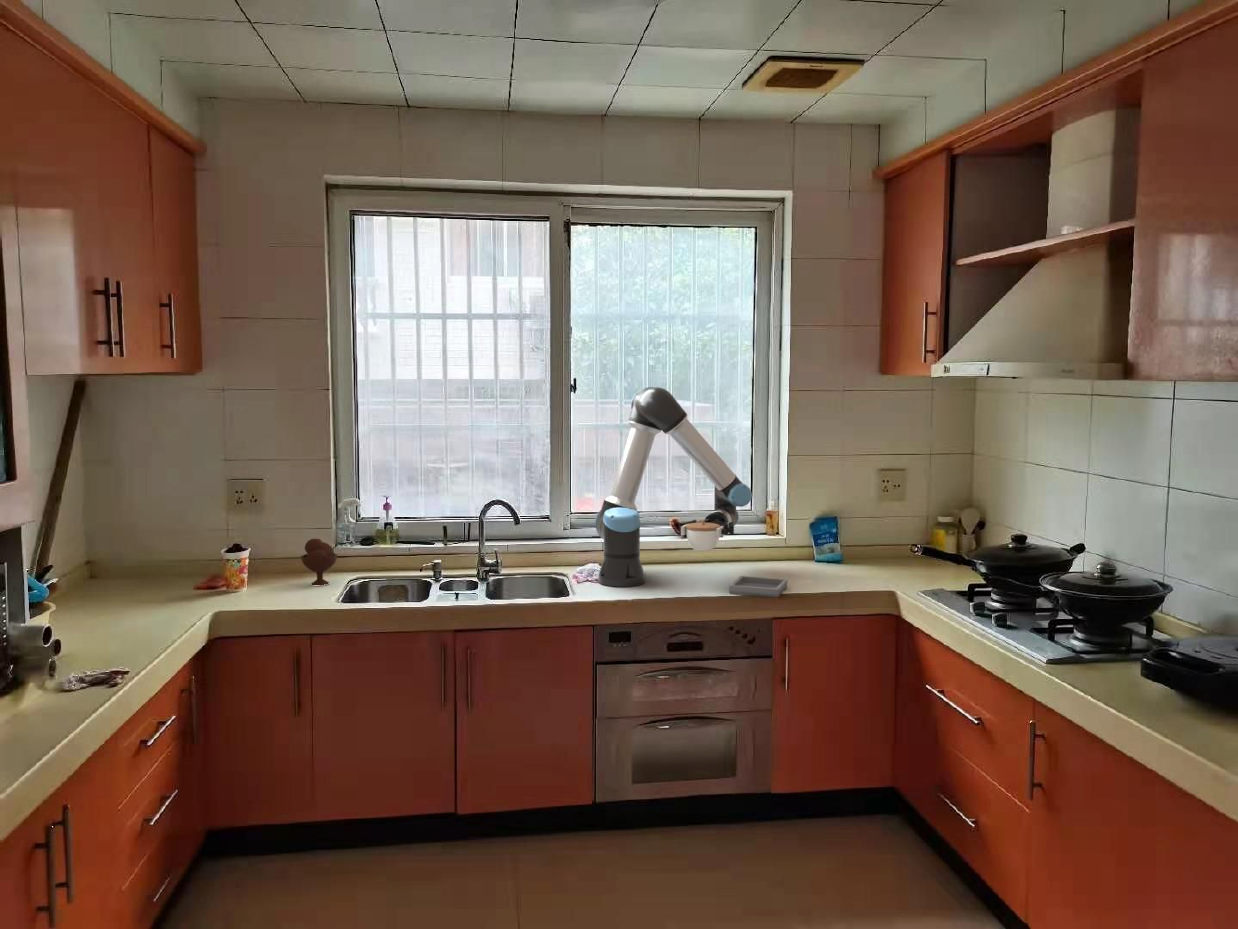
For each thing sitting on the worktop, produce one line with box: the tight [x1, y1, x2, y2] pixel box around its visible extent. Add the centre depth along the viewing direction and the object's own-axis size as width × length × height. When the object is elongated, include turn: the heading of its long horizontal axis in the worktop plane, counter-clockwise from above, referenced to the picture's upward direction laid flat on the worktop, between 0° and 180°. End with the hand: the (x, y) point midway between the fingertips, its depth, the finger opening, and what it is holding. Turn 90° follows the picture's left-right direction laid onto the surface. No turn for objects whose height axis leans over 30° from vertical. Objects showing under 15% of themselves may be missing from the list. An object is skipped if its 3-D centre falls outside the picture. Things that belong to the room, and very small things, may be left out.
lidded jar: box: [686, 519, 720, 552], centre depth 282 cm, size 11×11×9 cm
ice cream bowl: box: [300, 538, 338, 586], centre depth 285 cm, size 11×11×15 cm
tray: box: [728, 575, 788, 599], centre depth 277 cm, size 15×15×2 cm
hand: (699, 532), depth 278 cm, fingers closed on lidded jar, 11 cm apart
